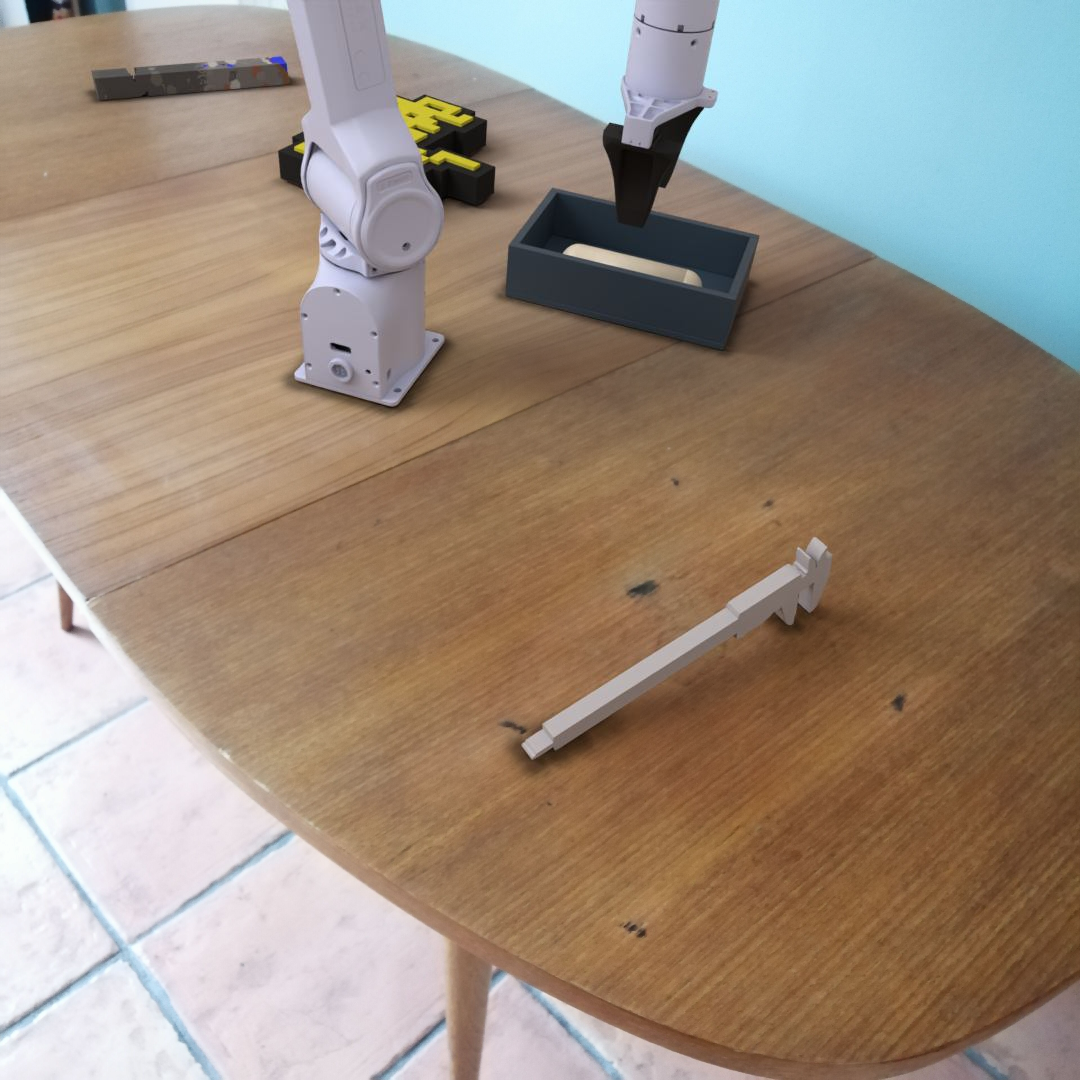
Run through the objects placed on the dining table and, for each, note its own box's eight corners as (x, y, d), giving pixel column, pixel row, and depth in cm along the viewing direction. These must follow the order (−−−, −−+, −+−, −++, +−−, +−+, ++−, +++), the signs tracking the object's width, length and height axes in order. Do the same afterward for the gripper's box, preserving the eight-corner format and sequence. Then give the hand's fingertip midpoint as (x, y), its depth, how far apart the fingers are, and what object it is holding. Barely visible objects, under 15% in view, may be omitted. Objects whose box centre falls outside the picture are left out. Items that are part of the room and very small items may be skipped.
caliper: (801, 601, 61) (831, 526, 56) (814, 613, 60) (845, 538, 56) (520, 748, 52) (530, 672, 47) (532, 764, 51) (543, 688, 47)
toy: (268, 143, 92) (399, 82, 105) (272, 178, 94) (399, 114, 107) (430, 203, 86) (547, 131, 99) (429, 238, 89) (544, 163, 101)
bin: (723, 350, 80) (735, 299, 77) (504, 296, 83) (508, 244, 80) (747, 283, 88) (759, 234, 84) (547, 235, 91) (552, 187, 88)
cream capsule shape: (697, 312, 83) (695, 308, 81) (559, 279, 86) (553, 273, 83) (707, 276, 83) (705, 270, 80) (569, 243, 85) (562, 236, 82)
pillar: (91, 70, 103) (284, 56, 110) (95, 92, 105) (286, 76, 112) (94, 78, 102) (289, 63, 109) (99, 100, 103) (291, 83, 110)
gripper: (709, 62, 65) (671, 255, 74) (747, 2, 75) (709, 178, 84) (604, 41, 66) (580, 233, 75) (656, -16, 76) (628, 160, 85)
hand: (642, 203), depth 80 cm, fingers open, 7 cm apart
